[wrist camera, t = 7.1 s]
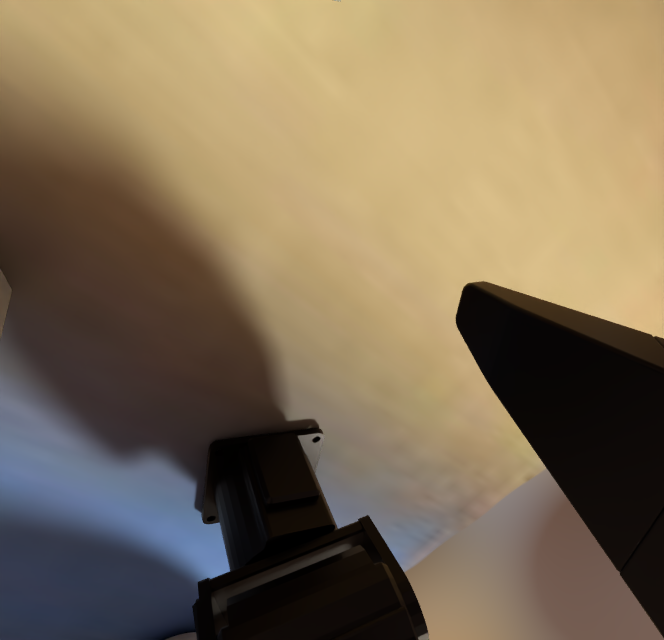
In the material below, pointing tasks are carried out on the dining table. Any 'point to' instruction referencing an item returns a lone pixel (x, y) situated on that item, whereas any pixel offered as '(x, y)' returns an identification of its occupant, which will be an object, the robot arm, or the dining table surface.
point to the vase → (184, 636)
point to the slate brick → (4, 299)
